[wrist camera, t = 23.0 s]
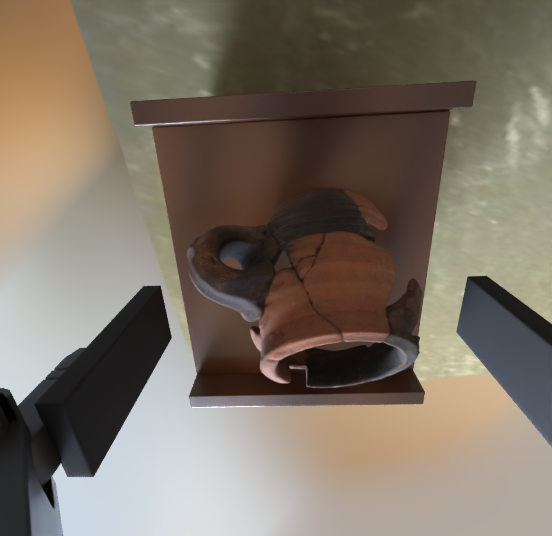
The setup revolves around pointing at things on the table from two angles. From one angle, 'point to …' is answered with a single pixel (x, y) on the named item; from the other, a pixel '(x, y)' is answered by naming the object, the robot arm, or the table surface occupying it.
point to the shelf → (283, 185)
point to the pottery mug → (314, 289)
